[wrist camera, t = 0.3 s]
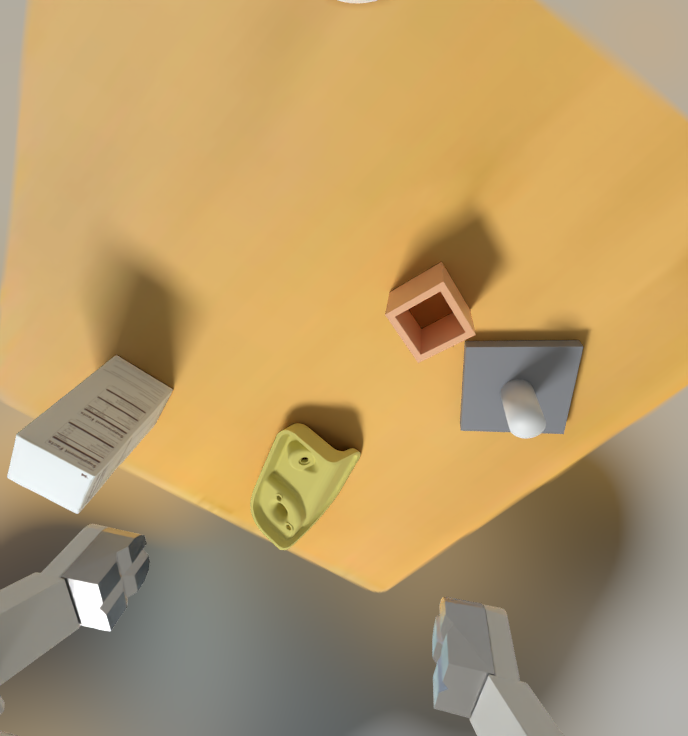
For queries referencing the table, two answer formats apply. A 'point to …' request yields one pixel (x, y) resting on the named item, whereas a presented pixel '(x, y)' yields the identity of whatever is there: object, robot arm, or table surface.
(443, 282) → the sleeve
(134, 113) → the table surface
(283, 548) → the plastic component
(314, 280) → the table surface
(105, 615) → the robot arm
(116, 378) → the supplement box
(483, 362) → the base
